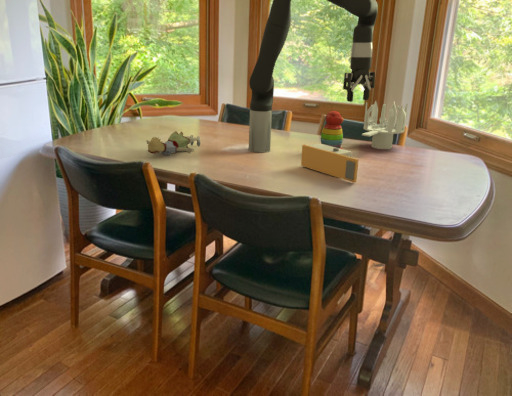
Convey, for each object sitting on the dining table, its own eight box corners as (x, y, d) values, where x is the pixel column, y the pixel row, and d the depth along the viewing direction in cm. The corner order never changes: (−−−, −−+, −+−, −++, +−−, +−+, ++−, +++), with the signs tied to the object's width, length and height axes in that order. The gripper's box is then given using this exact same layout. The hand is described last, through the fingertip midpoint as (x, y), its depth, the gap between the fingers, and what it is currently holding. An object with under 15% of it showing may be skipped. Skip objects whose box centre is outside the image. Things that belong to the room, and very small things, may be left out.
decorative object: (344, 151, 203) (348, 105, 197) (371, 141, 225) (375, 99, 218) (383, 158, 193) (389, 109, 186) (407, 147, 215) (413, 103, 208)
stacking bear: (342, 156, 194) (346, 113, 188) (318, 154, 195) (321, 112, 190) (343, 150, 204) (347, 110, 198) (320, 149, 205) (323, 108, 200)
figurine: (173, 142, 210) (126, 153, 185) (173, 123, 207) (125, 132, 182) (218, 151, 199) (175, 164, 174) (219, 131, 197) (175, 142, 171)
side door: (299, 165, 175) (300, 145, 173) (302, 165, 176) (304, 144, 174) (352, 183, 156) (355, 160, 153) (356, 182, 157) (358, 159, 154)
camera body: (303, 166, 177) (304, 143, 174) (318, 163, 181) (319, 141, 178) (337, 177, 164) (339, 153, 161) (352, 173, 169) (355, 150, 166)
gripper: (355, 56, 163) (351, 103, 168) (382, 55, 170) (378, 100, 176) (340, 55, 168) (337, 101, 174) (366, 55, 176) (363, 98, 182)
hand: (357, 100), depth 175 cm, fingers open, 8 cm apart
